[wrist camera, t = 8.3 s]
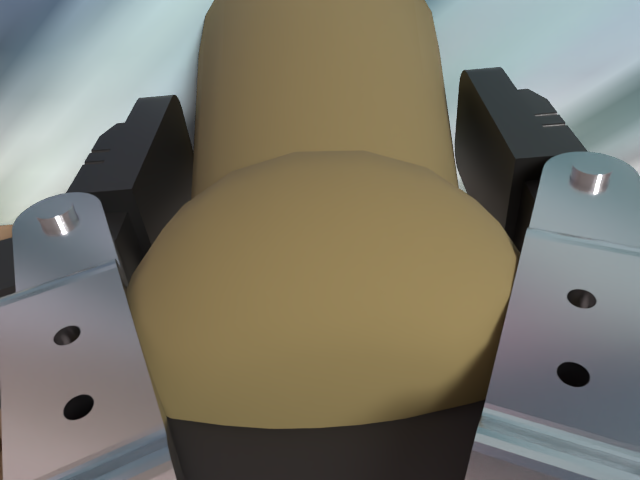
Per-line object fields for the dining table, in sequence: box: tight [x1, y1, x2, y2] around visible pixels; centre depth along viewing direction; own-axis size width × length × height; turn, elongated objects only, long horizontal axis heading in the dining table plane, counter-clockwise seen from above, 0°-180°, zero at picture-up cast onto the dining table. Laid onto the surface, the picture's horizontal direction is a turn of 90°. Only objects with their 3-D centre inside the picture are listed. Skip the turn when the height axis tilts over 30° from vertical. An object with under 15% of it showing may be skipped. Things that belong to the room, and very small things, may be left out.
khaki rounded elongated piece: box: [127, 0, 521, 429], centre depth 10 cm, size 6×6×11 cm
